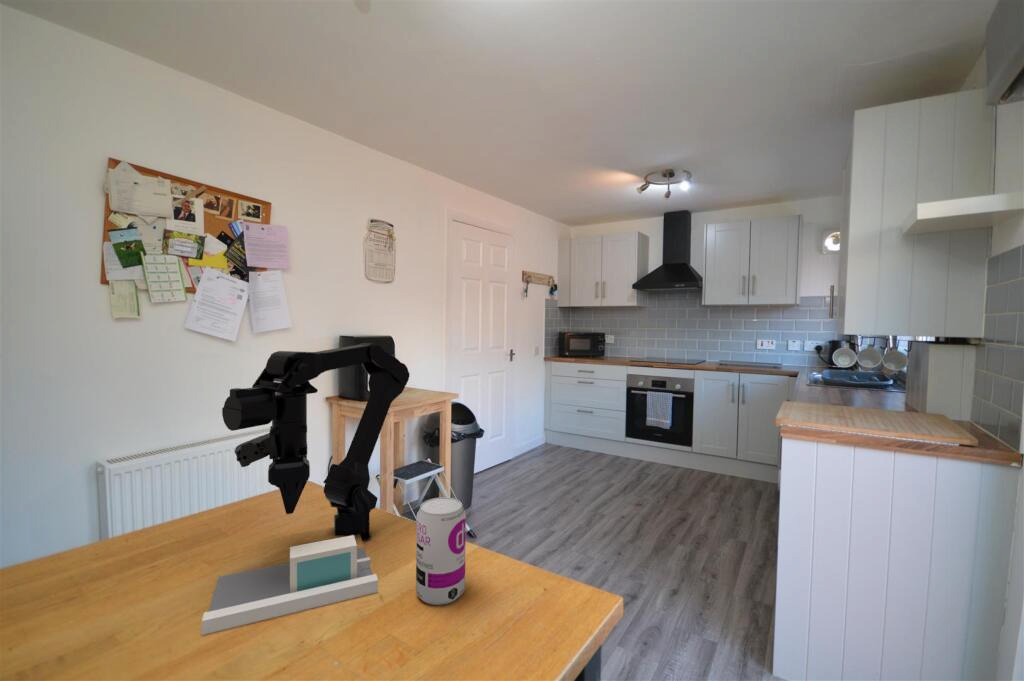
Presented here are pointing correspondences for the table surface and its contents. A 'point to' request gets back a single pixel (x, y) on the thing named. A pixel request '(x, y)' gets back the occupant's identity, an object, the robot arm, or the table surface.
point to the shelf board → (277, 595)
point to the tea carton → (322, 563)
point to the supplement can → (440, 550)
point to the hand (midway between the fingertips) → (289, 503)
